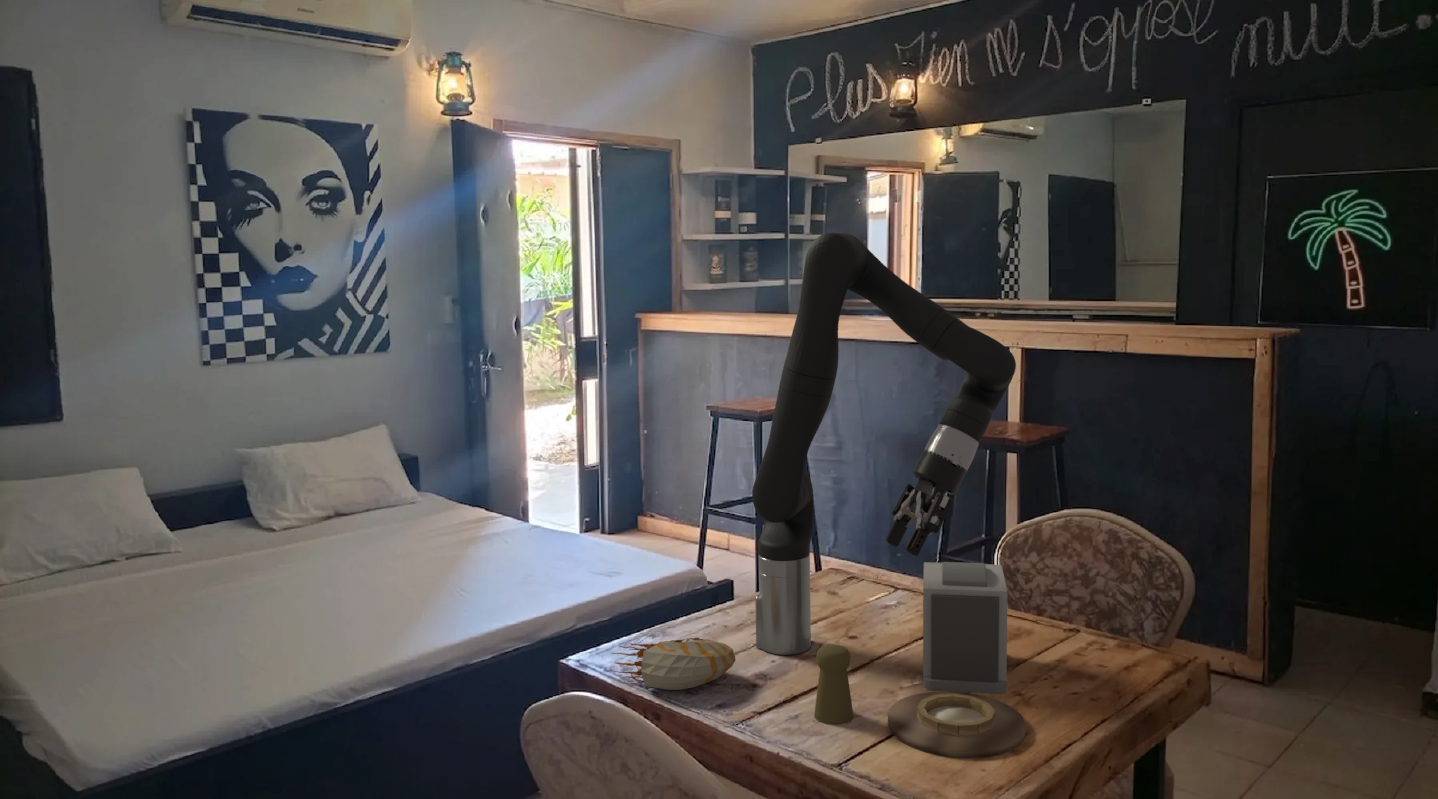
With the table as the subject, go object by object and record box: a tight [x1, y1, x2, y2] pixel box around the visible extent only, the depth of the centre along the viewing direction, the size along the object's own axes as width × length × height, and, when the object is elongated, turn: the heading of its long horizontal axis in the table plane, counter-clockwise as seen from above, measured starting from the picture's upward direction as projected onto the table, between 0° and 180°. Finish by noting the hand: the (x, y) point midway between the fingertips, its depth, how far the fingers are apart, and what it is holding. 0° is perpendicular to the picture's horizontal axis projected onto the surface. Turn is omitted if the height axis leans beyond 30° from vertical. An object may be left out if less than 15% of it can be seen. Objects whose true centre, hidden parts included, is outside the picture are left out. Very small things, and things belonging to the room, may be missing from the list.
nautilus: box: [610, 637, 736, 691], centre depth 173 cm, size 8×22×15 cm
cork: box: [813, 644, 854, 726], centre depth 158 cm, size 6×6×11 cm
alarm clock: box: [922, 561, 1008, 695], centre depth 174 cm, size 18×13×18 cm
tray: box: [887, 690, 1027, 759], centre depth 154 cm, size 20×20×3 cm
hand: (900, 548), depth 165 cm, fingers open, 8 cm apart
